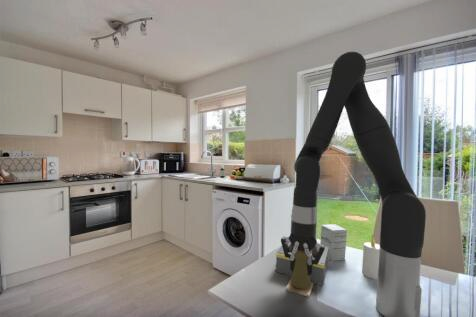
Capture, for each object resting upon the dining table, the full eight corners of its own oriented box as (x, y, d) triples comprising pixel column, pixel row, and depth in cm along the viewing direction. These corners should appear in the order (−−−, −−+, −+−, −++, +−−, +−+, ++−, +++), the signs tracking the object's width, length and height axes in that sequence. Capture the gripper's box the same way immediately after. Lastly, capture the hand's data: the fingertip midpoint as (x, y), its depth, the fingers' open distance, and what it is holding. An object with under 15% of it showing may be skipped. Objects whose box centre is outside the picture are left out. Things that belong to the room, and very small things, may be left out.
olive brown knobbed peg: (311, 290, 69) (313, 254, 68) (291, 287, 70) (292, 251, 70) (309, 279, 75) (311, 246, 74) (290, 276, 76) (292, 243, 76)
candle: (386, 276, 82) (388, 235, 81) (375, 280, 79) (377, 237, 78) (369, 268, 87) (371, 229, 87) (358, 271, 84) (360, 231, 84)
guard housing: (327, 264, 89) (328, 246, 89) (323, 285, 74) (324, 264, 74) (286, 254, 96) (287, 238, 96) (275, 272, 81) (276, 252, 81)
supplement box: (319, 253, 99) (320, 224, 98) (333, 252, 101) (334, 223, 101) (330, 261, 92) (332, 230, 91) (345, 259, 94) (347, 229, 94)
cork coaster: (312, 285, 74) (312, 283, 74) (309, 297, 68) (309, 295, 68) (291, 279, 77) (291, 277, 77) (286, 289, 71) (286, 287, 71)
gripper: (328, 220, 72) (325, 274, 72) (284, 213, 78) (281, 262, 79) (326, 226, 65) (323, 285, 66) (278, 218, 72) (275, 272, 72)
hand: (300, 272), depth 72 cm, fingers closed on olive brown knobbed peg, 4 cm apart
